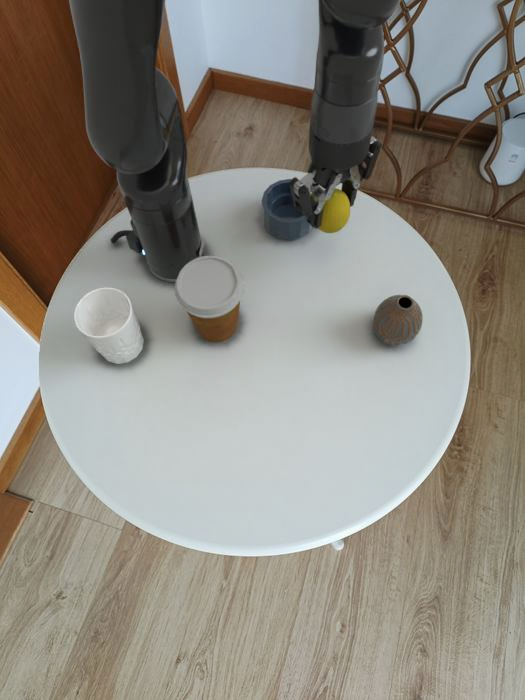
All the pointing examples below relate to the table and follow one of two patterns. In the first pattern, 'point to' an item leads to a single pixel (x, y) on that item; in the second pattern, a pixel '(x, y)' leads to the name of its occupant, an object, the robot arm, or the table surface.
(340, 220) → the lemon
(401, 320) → the vase
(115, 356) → the white cup
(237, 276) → the disposable coffee cup
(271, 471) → the table surface
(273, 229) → the bowl
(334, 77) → the robot arm
